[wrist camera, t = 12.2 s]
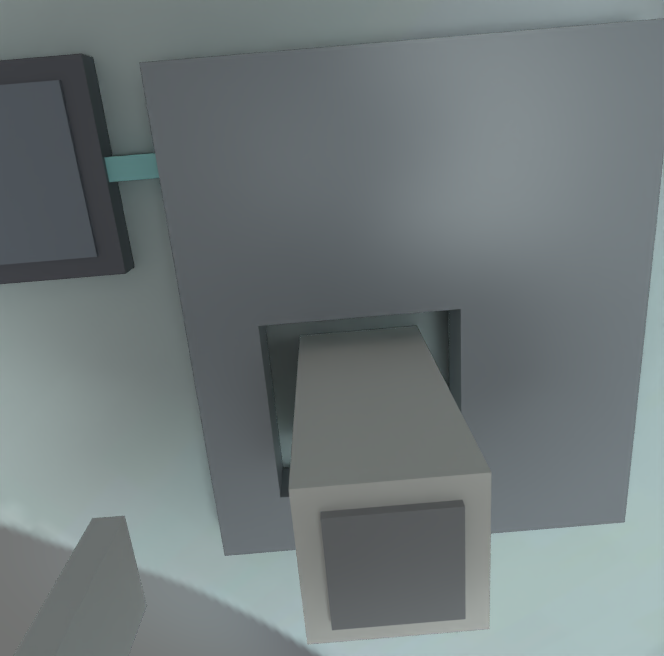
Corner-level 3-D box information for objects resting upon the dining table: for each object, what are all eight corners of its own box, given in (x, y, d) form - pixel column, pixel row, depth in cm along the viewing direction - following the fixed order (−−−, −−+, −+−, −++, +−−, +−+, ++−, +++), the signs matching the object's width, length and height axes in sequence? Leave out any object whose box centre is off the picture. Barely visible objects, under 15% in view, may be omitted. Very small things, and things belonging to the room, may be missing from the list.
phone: (-275, 88, 19) (-310, 86, 18) (337, 36, 19) (338, 31, 18) (-193, 294, 21) (-221, 303, 20) (352, 248, 21) (354, 255, 20)
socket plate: (156, 69, 19) (139, 62, 17) (642, 28, 19) (678, 17, 17) (231, 523, 25) (224, 555, 23) (601, 492, 25) (624, 522, 23)
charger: (300, 335, 22) (287, 496, 12) (416, 325, 22) (494, 478, 12) (310, 438, 24) (307, 652, 14) (419, 429, 24) (492, 637, 14)
